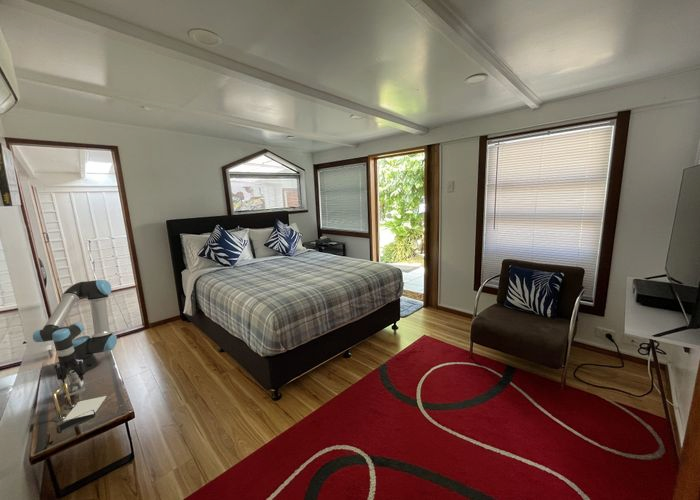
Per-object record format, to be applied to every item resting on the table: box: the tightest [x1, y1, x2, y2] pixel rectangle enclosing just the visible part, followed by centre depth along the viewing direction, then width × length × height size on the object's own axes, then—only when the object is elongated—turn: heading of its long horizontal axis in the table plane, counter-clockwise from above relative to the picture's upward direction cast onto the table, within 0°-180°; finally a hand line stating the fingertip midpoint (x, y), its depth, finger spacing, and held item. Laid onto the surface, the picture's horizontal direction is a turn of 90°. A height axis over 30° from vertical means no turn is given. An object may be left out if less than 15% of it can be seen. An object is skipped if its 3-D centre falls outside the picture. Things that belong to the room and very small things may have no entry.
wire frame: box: [52, 382, 77, 422], centre depth 164 cm, size 15×5×16 cm, turn 20°
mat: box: [62, 395, 107, 423], centre depth 168 cm, size 16×14×1 cm
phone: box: [57, 410, 97, 434], centre depth 159 cm, size 8×1×15 cm
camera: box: [63, 370, 87, 398], centre depth 177 cm, size 9×12×15 cm
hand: (75, 386), depth 177 cm, fingers closed on camera, 6 cm apart
